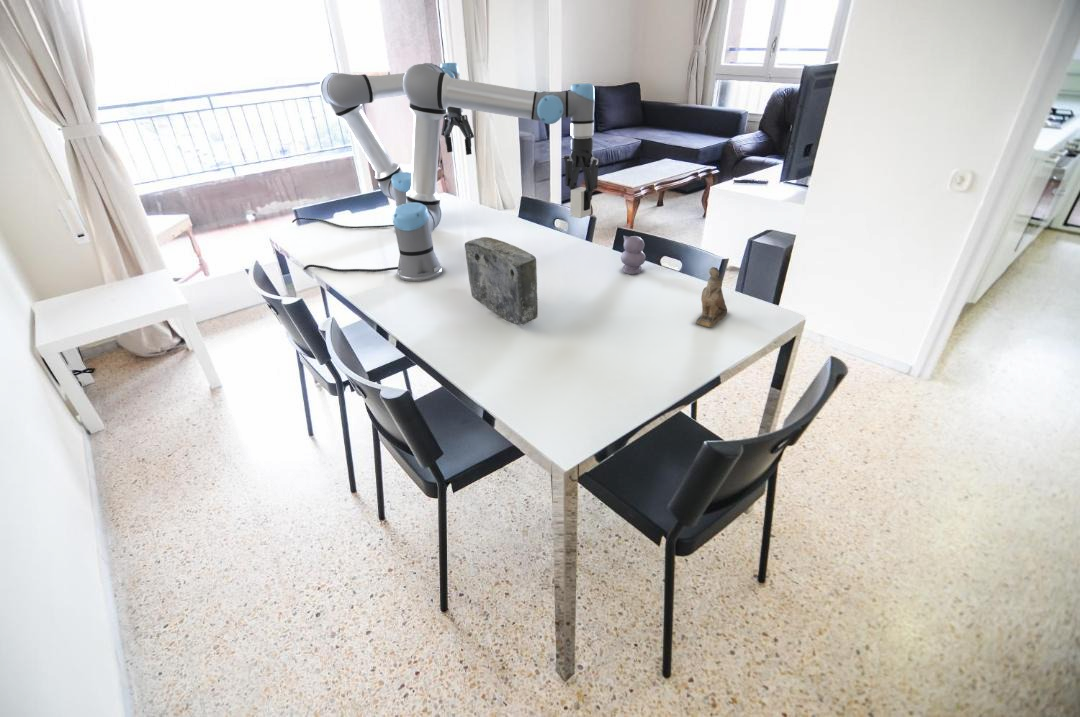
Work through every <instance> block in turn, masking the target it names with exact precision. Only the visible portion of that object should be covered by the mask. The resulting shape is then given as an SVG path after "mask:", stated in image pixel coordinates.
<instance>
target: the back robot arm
mask: <svg viewBox="0 0 1080 717" xmlns="http://www.w3.org/2000/svg"><path fill="white" fill-rule="evenodd" d="M440 68H442V69H443V70H444V71H445V73H447V74H448V75H449V76H450V77H451V78H455V79H460V78H461V77H460V70H459V65H458V63H457V62H442V63H440ZM405 73H406V72H401V73H393V74H384V75H375V76H374V75H373V76H368V75H367V74H366V73H363V74H352V73H351V74H349V73H345V72H344V73H341V72H339V73H338V72H331V73H327V74H326V75H324V76H323V77H322V79H321V80H320V82H319V92H320V95H321V97H322V99H323V100H324V101H325V103H327V104H328V105H329V106H330V107H331V109H332V110H333V112H334V114H335V115H336V117H337V118H340V119H342V121H344V123H345V125H346V127H347V128H348V129H349V131H350V132H351V135H352V136H353V138H354V139H355V141H356V142H357V144H358V146H359V147H360V148H361V150H362V152H363V154H364V155H365V157H366V159H367V160H368V162H369V163H370V165H371V167H372V169H373V170H374V171H375V176H374V178H375V179H376V182H377V183H378V186H379V190H380V191H381V193H382V194H383V195H384V196H385V197H387V198H388V199H390V200H392V201H394V202H395V206H396V207H398V206H400V205H402V204H405V203H406V197H407V192H408V191H409V190H411V183H412V172H407V171H406V172H405V171H403V170H402V168H401V167H400V165H399V164H398V163H395V162H393V160H392V158H391V157H390V155H389V153H388V151H387V149H386V147H385V146H384V145H383V143H382V140H380V137H379V135H378V134H377V133H376V130H375V129H374V127H373V126H372V124H371V122H370V121H369V120H368V118H367V115H366V114H365V112H364V110H363V109H362V108H363V105H366V104H372V103H373V102H374V101H375V100H381V99H385V98H393V97H402V96H406V94H405V92H404V89H403V78H404V75H405ZM463 112H464V109H463V108H456V107H450V106H449V107H448V108H446V115H445V116H444V117H443V120H442V126H441V131H440V136H442V137H444V141H445V146H446V152H447V153H453V143H452V136H451V134H452V131H453V129H454V126H455V127H458V128H459V130H460V131H461V133H462V134H463V137H464V138H465V139H464V146H465V147H464V148H465V155H466V156H470V155H472V139H473V138H475V135H474V132H473V130H472V127H471V125H470V122H469V119H468V115H467V114H462V113H463ZM396 207H395V208H396ZM298 220H306V221H316V222H317V221H318V222H322V223H326V224H330V225H332V226H335V227H339V228H345V229H369V228H370V229H374V228H391V227H392V228H393V227H394V224H386V225H361V226H352V225H351V226H349V225H341V224H337V223H334V222H331V221H327V220H324V219H320V218H309V217H297V218H294V219H293V220H292V221H291V223H295V222H296V221H298Z"/></svg>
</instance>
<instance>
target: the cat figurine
mask: <svg viewBox="0 0 1080 717" xmlns="http://www.w3.org/2000/svg"><path fill="white" fill-rule="evenodd" d="M623 249H624V250H623V252H622V253H621V255H620V260H621V262H622V264H623V265H622V273H624V274H628V275H637V274H640V273H642V265H644V264H645V262H646V254H645V253H644V252H643V251H644V249H645V242H644V239H642V238H641V236H637V235H631V236H627V235H624V234H623Z"/></svg>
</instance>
